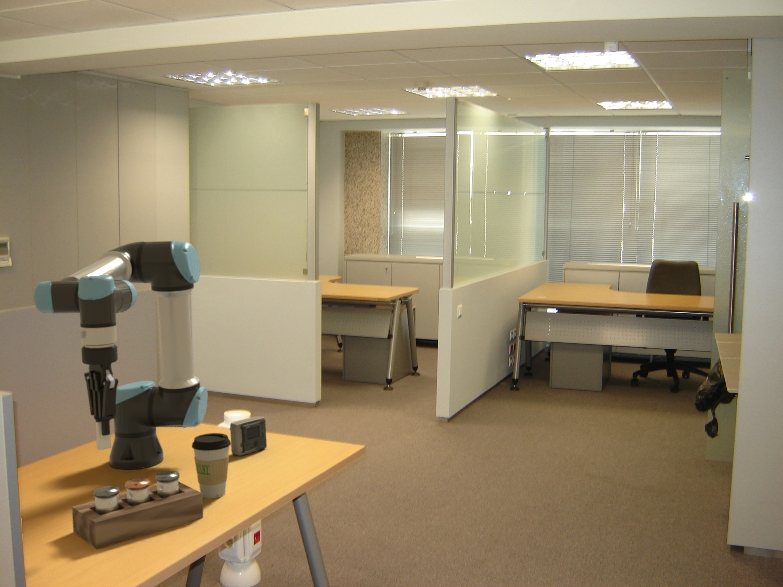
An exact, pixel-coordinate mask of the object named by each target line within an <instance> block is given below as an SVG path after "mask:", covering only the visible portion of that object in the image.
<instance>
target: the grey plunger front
mask: <svg viewBox="0 0 783 587" xmlns="http://www.w3.org/2000/svg"><path fill="white" fill-rule="evenodd" d="M92 492H93V497H94V501H95V507H96V513H97V514H99V515H102V514H106V513H110V512H113V511H117V510H119V498H118V495H119V494H120V487H119V486H117V485H104V486H99V487H97V488H95V489H94V490H93V491H92Z"/></svg>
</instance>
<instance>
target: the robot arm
mask: <svg viewBox="0 0 783 587" xmlns="http://www.w3.org/2000/svg"><path fill="white" fill-rule="evenodd" d="M200 275H201V265H200V260H199V255H198V253H197V251H196V249H195V247H194V246H193V244H191V243H190V242H188V241H179V240H167V241H166V240H163V241H160V240H159V241H135V242H130V243H127V244H124V245H120V246H118V247H115V248H113V249H111V250H108V251H107V252H104V253H103V254H102V255H101V256H100V257H99V258H98V260H97V261H96V262H93V263H92V264H89V265H87V266H85V267H84V268H81V269H80V270H77V271H76V272H74V273H72V274H70V275H68V276H66V277H64V278H62V279H60V280H56V281H55V280H53V281H52V280H47V281H40V282H38V283H37V285H36V286H35V288H34V291H33V301H34V302H33V303H34V305H35V308H36V310H37V311H39V312H40V313H43V314H52V315H56V314H79V320H80V321H79V323H80V324H79V326H80V331H79V332H78V336H79V337H80V341H81V345H82V347H81V351H80V352H81V361H82V363H83V364H84V365H88V371H87V372H84V373H83V374H84V375H83V376H84V380H85V384H86V390H87V396H88V404H89V411H90V415H91V416H93V419H94V420H95V433H96V434H95V435H96V436H95V437H96V449H97V450H99V451H102V450H108V449H110V453H109V456H108V457H109V465H110V466H111V468H116V469H118V470H119V469H120V470H135V469H136V470H138V469H144V468H148V467H152V466H155V465H158V464H160V463H161V462H162V461H164V451H163V448H162V445H161V442H160V439H159V438H158V434H157V428H183V429H185V428H197V427H198V426H200V425H201V424H202V422H203V420H204V418H205V415H206V412H207V409H208V408H207V407H208V398H209V396H208V395H209V393H208V390H207V388H206V387H205V386H204V385H203V386H201V381H200V378H199V377H198V376H196V375H195V374H194V373H195V372H194V371H195V368H194V356H193V354H194V353H193V341H192V325H191V310H190V309H191V308H190V294H191V292H192V291H193V290H194V288H195V284H196V283H198V281H199V280H200ZM133 283H134V284H136V283H137V284H150V288H151V292H152V293H154V294H155V295H156V297H157V306H158V320H159V334H160V335H159V336H160V348H161V362H162V378H161V379H160V380H159V381H158V386H156V383H155V381H154V380H153V381H152V380H141V381H134V382H129V383H127V384H123V385H120V386H118V385H119V380H118V378H117V377H115V378H114V377H113V376H114V375H113V374H114V373H113V370H112V364H113V363H116V362H117V361H118V358H119V356H118V346H117V345H116V344H117V342H118V330H117V328H118V326H117V316H116V315H117V314H119V313H124V312H127V311H128V310H130V309H131V308H133V306H135V304H136V302H137V300H138V292H137V289H136V286H134V284H133ZM111 420H113V427H114V430H113V431H114V438H113V442H112V433H111V431H112V430H111Z"/></svg>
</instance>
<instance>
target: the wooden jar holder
mask: <svg viewBox="0 0 783 587" xmlns="http://www.w3.org/2000/svg"><path fill="white" fill-rule="evenodd" d="M178 482H179V494H177V495H173V496H169V497H165V498H161V497H159V496H157V484H156V485H150V486H149V495H150V502H147V503H143V504H139V505H136V506H130V505H129V504H127V492H124V493H121V494H120V493H119V494H118V498H119V510H117V511H113V512H110V513H106V514H102V515H99V514H97V513H96V507H95V500H94V501H89V502H85V503H82V504H77V505H73V506H72V507H71V515H72V531H73V533H74V534H75V535H77V536H78V537H79V538H81V539H82V540H84V541H85V542H86V543H88V544H89V546H91V547H93V548H95V549H96V550H98V549H102V548H104V547H108V546H109V547H110V546H112V545H114V544H118V543H122V542H126V541H128V540H129V541H130V540H132V539H135V538H138V537H139V538H140V537H142V536H145V535H149V534H152V533H155V532H159V531H163V530H166V529H169V528H172V527H175V526H176V527H177V526H180V525H183V524H186V523H188V522H192V521H197V520H199V519H200V520H201V519H202V518H204V509H203V508H204V504H203V497H202V493H201V492H200V490H199V491H198V490H197V489H196V488H195V489H194V488H193V487H191V486H189V485H187V484H184V483H182V482H180V481H179V480H178Z"/></svg>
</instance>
